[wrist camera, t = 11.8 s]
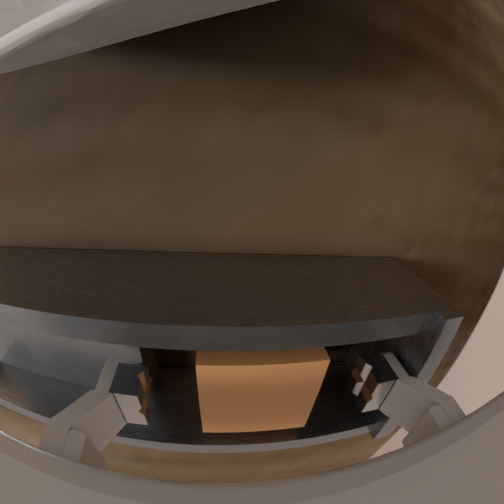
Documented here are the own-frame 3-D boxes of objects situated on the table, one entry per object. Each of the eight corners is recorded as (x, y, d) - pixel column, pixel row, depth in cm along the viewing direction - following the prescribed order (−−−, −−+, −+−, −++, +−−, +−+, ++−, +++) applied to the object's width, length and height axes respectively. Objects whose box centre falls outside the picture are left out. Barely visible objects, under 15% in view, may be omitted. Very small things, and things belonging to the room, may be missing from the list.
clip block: (201, 293, 11) (195, 365, 7) (298, 294, 11) (330, 359, 8) (203, 363, 12) (202, 432, 9) (285, 361, 13) (304, 426, 9)
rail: (-18, 246, 9) (-75, 290, 4) (394, 257, 11) (463, 316, 7) (19, 350, 11) (-14, 404, 7) (355, 368, 14) (390, 434, 10)
